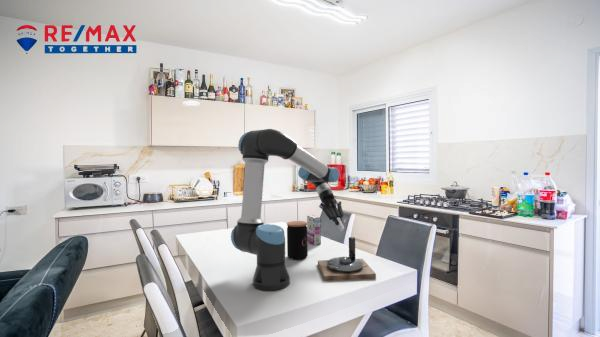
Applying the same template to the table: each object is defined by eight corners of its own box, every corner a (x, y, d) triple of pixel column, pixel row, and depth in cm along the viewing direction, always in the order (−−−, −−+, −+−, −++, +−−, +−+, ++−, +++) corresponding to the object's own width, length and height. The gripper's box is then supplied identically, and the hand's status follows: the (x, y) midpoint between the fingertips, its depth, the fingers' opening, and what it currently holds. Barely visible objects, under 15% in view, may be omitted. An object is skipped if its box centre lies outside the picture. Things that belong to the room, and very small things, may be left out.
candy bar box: (321, 244, 179) (321, 217, 179) (313, 245, 177) (313, 218, 177) (314, 240, 189) (313, 214, 189) (306, 240, 188) (306, 215, 187)
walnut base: (324, 280, 123) (324, 275, 123) (317, 264, 143) (317, 260, 143) (375, 278, 125) (375, 273, 125) (362, 262, 145) (362, 258, 145)
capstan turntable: (350, 275, 123) (350, 247, 123) (320, 267, 133) (319, 241, 133) (369, 264, 135) (368, 239, 135) (339, 258, 145) (339, 234, 145)
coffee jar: (305, 260, 149) (305, 225, 149) (285, 259, 151) (284, 224, 151) (309, 254, 160) (308, 221, 159) (290, 253, 162) (289, 220, 162)
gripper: (333, 197, 167) (350, 232, 152) (312, 198, 162) (328, 235, 147) (337, 188, 162) (356, 224, 147) (316, 189, 157) (333, 227, 142)
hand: (342, 229), depth 147 cm, fingers closed
